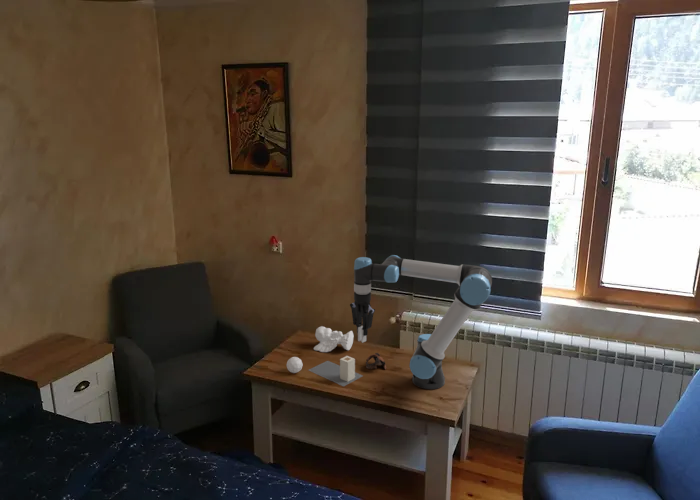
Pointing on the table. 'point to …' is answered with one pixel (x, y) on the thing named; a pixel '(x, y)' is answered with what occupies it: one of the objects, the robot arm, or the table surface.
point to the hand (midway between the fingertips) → (362, 340)
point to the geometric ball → (294, 364)
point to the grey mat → (332, 373)
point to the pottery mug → (377, 359)
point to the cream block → (347, 368)
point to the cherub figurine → (332, 339)
